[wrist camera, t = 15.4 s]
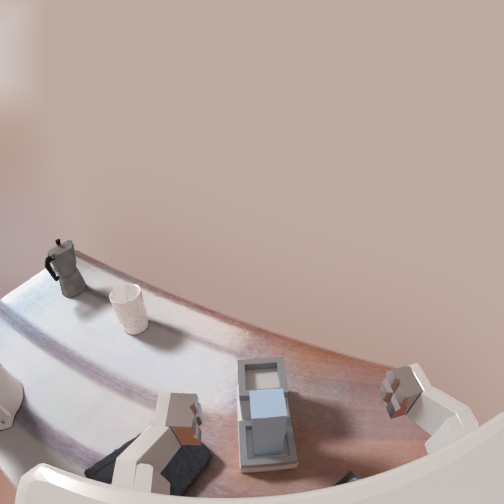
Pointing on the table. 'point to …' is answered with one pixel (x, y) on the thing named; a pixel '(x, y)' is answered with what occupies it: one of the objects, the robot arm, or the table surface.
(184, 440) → the robot arm
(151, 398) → the table surface
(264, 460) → the stepped base with tray
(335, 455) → the table surface
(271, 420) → the plug
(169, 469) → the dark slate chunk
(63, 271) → the coffeepot
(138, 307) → the white cup
